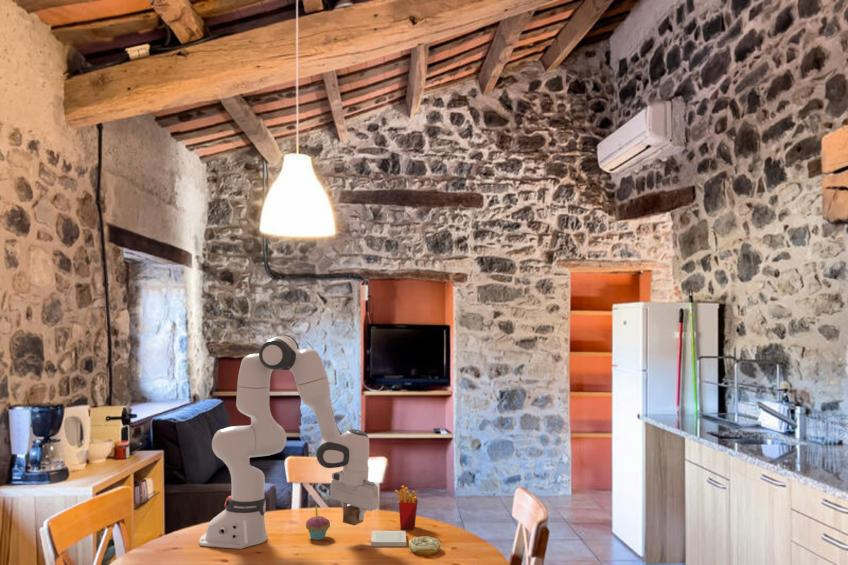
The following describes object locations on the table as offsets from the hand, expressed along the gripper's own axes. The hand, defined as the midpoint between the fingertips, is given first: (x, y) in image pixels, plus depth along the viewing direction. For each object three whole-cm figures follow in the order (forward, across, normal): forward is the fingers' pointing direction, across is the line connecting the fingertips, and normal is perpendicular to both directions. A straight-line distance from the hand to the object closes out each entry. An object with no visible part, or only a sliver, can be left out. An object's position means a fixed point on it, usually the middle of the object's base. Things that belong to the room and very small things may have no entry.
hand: (353, 517), depth 227 cm
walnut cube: (+2, 0, 0) cm, 2 cm away
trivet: (+8, -9, -9) cm, 15 cm away
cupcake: (+9, +12, +5) cm, 16 cm away
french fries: (+8, -5, -23) cm, 25 cm away
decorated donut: (+8, -25, -9) cm, 27 cm away
